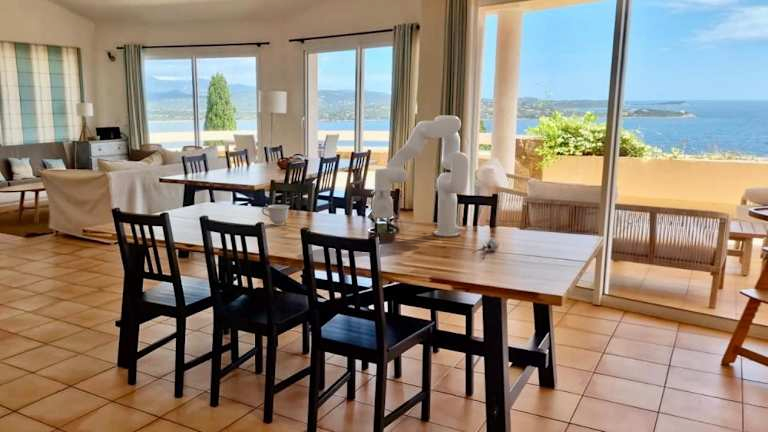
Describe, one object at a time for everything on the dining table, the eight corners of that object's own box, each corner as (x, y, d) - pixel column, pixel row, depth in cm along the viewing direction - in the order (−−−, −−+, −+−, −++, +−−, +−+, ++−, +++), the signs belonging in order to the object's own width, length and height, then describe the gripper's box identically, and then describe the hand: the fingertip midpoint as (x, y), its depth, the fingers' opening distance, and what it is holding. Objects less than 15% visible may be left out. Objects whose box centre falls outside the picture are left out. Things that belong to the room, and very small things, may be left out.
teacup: (261, 222, 318) (261, 205, 317) (288, 222, 322) (288, 204, 321) (262, 227, 307) (262, 208, 305) (291, 226, 311) (290, 207, 309)
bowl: (394, 237, 287) (394, 227, 286) (396, 243, 274) (396, 232, 273) (367, 237, 286) (367, 227, 285) (368, 243, 273) (368, 232, 272)
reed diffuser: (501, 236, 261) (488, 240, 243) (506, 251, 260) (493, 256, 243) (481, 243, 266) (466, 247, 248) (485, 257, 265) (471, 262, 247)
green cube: (386, 230, 281) (386, 221, 281) (386, 232, 277) (386, 223, 276) (376, 230, 281) (376, 221, 280) (377, 232, 277) (377, 223, 276)
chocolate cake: (402, 231, 303) (387, 214, 305) (401, 230, 296) (385, 212, 298) (388, 243, 303) (373, 226, 305) (387, 242, 296) (372, 225, 298)
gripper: (365, 194, 272) (364, 232, 275) (400, 195, 273) (399, 233, 276) (364, 192, 279) (363, 229, 282) (399, 193, 280) (398, 229, 283)
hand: (381, 231), depth 279 cm, fingers closed on green cube, 4 cm apart
